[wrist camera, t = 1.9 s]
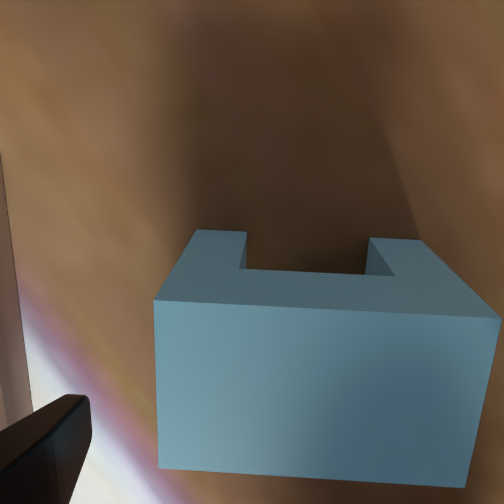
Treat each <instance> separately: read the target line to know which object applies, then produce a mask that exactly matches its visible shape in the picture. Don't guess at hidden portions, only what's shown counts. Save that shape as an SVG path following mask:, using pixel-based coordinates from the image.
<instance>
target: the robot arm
mask: <svg viewBox="0 0 504 504" xmlns="http://www.w3.org/2000/svg"><path fill="white" fill-rule="evenodd" d="M91 438H92V424H91V411H90V401H89V398H88V397H87V396H86V395H76V394H66V395H64V396H62V397H60V398H58V399H56V400H55V401H53V402H51V403H49V404H47V405H46V406H44V407H42V408H40V409H39V410H37V411H35V412H33V413H31V414H30V415H28V416H26V417H24V418H23V419H21V420H19V421H17V422H15V423H14V424H12V425H10V426H8V427H7V428H5V429H3V430H1V431H0V504H69V502H70V500H71V497H72V494H73V491H74V488H75V486H76V483H77V480H78V477H79V474H80V472H81V469H82V466H83V463H84V460H85V458H86V455H87V452H88V449H89V446H90V443H91Z"/></svg>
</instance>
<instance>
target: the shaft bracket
mask: <svg viewBox="0 0 504 504" xmlns="http://www.w3.org/2000/svg"><path fill="white" fill-rule="evenodd" d="M31 413H33V409H32V401H31V394H30V386H29V378H28V370H27V362H26V354H25V347H24V339H23V331H22V323H21V315H20V308H19V300H18V292H17V284H16V276H15V268H14V261H13V253H12V245H11V237H10V229H9V222H8V214H7V206H6V198H5V190H4V183H3V175H2V167H1V159H0V431H1V430H3V429H5V428H7V427H8V426H10V425H12V424H14V423H15V422H17V421H19V420H21V419H23V418H24V417H26V416H28V415H30V414H31Z"/></svg>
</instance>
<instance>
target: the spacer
mask: <svg viewBox="0 0 504 504" xmlns="http://www.w3.org/2000/svg"><path fill="white" fill-rule="evenodd" d="M246 248H247V232H242V231H221V230H200V229H197V230H196V231H195V233H194V235H193V236H192V238H191V240H190V241H189V243H188V244H187V246H186V248H185V249H184V251H183V253H182V254H181V256H180V258H179V259H178V261H177V262H176V264H175V266H174V267H173V269H172V271H171V272H170V274H169V276H168V277H167V279H166V280H165V282H164V284H163V285H162V287H161V289H160V290H159V292H158V294H157V295H156V297H155V298H154V300H153V302H154V333H155V364H156V396H157V427H158V459H159V468H165V469H180V470H195V471H211V472H226V473H241V474H256V475H272V476H287V477H302V478H317V479H333V480H348V481H363V482H378V483H394V484H409V485H424V486H439V487H455V488H465V485H466V480H467V476H468V471H469V467H470V462H471V458H472V453H473V449H474V444H475V440H476V435H477V431H478V426H479V421H480V417H481V412H482V408H483V403H484V399H485V394H486V390H487V385H488V381H489V376H490V372H491V367H492V363H493V358H494V354H495V349H496V345H497V340H498V336H499V331H500V327H501V322H502V318H501V317H500V316H499V315H498V314H497V313H496V312H495V311H494V310H493V309H492V308H491V307H490V306H489V305H488V304H487V303H486V302H485V301H483V300H482V299H481V298H480V297H479V296H478V295H477V294H476V293H475V292H474V291H473V290H472V289H471V288H470V287H469V286H468V285H467V284H466V283H465V282H464V281H463V280H462V279H461V278H460V277H459V276H458V275H457V274H456V273H455V272H453V271H452V270H451V269H450V268H449V267H448V266H447V265H446V264H445V263H444V262H443V261H442V260H441V259H440V258H439V257H438V256H437V255H436V254H435V253H434V252H433V251H432V250H431V249H430V248H429V247H428V246H427V245H426V244H425V243H423V242H422V241H421V240H410V239H389V238H369V244H368V253H367V261H366V270H365V275H356V274H337V273H317V272H297V271H277V270H257V269H246Z"/></svg>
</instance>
